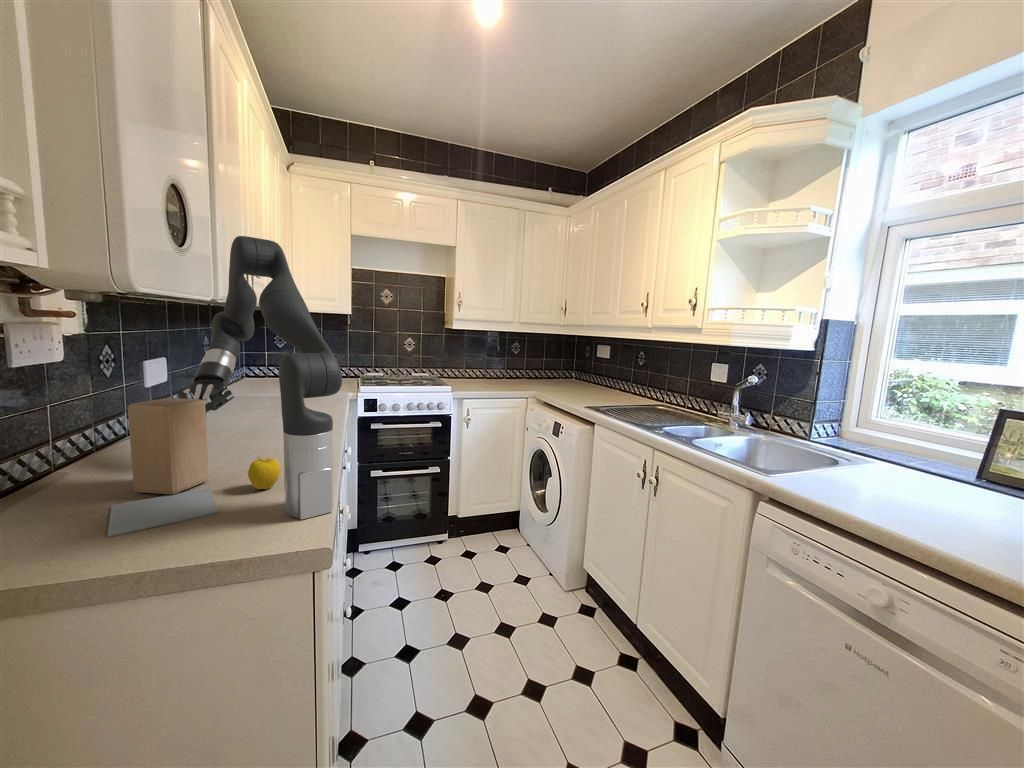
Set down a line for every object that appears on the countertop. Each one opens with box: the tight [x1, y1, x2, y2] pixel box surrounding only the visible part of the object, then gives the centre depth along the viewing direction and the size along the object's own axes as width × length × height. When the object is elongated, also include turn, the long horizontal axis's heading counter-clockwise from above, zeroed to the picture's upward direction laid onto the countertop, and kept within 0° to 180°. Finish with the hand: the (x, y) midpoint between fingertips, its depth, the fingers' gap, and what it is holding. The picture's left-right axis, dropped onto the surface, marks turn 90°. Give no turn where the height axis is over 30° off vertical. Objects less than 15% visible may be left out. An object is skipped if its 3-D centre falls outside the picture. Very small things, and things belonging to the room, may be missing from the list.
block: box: [127, 397, 210, 495], centre depth 92 cm, size 10×10×20 cm
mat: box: [107, 487, 219, 538], centre depth 83 cm, size 15×16×1 cm
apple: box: [247, 457, 281, 490], centre depth 95 cm, size 6×6×8 cm
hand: (194, 422), depth 102 cm, fingers closed
